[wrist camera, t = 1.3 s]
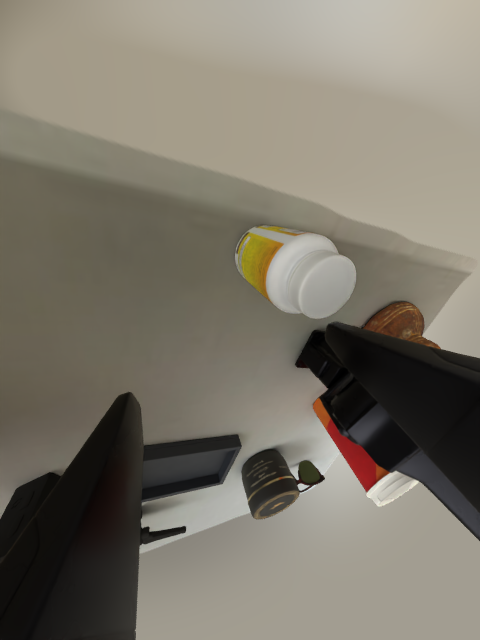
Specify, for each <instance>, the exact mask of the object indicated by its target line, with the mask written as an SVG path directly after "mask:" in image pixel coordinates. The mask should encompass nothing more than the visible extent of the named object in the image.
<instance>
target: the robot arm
mask: <svg viewBox="0 0 480 640" xmlns="http://www.w3.org/2000/svg"><path fill="white" fill-rule="evenodd" d="M295 365H296V367H297V368H309V369H310V370H311V371H312V372H313V374H314V375H315V376H316V377H318V378H319V380H320V381H321V382H322V383H323V384H324V385H325V386H326V387H327V388H328V390H327V391H326V392H325V393H324V394H323V395H321V396H320V397H319V399H320V400H321V402H322V405H323V406H324V408H325V410H326V411H327V413H328V414H329V416H330V418H331V419H332V421H333V423H334V424H335V426H336V428H337V429H338V431H339V433H340V434H341V435H342V436H345V437H347V438H348V439H349V440H350V441H352V442H353V443H354V444H356V445H360V446H361V447H362V448H363V449H364V450H365V451H366V452H367V453H368V455H369V456H370V457H371V458H372V459H373V461H374V462H375V463H376V464H377V465H378V466H379V467H381V468H383V469H385V470H386V471H388V472H390V473H393V472H395V471H397V472H400V473H402V474H404V475H406V476H408V477H410V478H413V479H415V480H417V481H419V482H421V483H422V484H424V486H426V487H427V488H428V489H429V490H430V491H431V492H432V493H433V494H434V495H435V496H436V497H437V498H438V499H439V500H440V501H441V502H442V503H443V504H444V506H445V507H446V508H447V509H448V510H449V511H450V512H451V513H452V514H454V515H455V517H456V518H457V519H458V520H459V521H460V522H461V523H462V524H463V525H464V526H465V527H466V528H467V529H468V530H469V531H470V532H471V533H472V534H473V535H474V536H475V537H476V538H477V539H478V540H479V541H480V358H476V357H471V356H467V355H462V354H458V353H454V352H450V351H446V350H442V349H438V348H435V347H431V346H427V345H423V344H419V343H415V342H412V341H408V340H404V339H400V338H396V337H393V336H389V335H385V334H381V333H377V332H374V331H370V330H366V329H362V328H358V327H355V326H351V325H347V324H343V323H339V322H333V323H330V324H328V325H327V328H326V332H325V331H319V330H314V331H313V332H312V334H311V336H310V337H309V339H308V341H307V343H306V345H305V347H304V349H303V350H302V352H301V354H300V356H299V358H298V360H297V362H296V363H295ZM143 457H144V444H143V430H142V416H141V407H140V404H139V402H138V401H137V399H136V398H135V396H134V395H133V394H132V393H131V392H127V393H124V394H121V395H119V396H118V397H117V398H116V400H115V401H114V402H113V404H112V405H111V407H110V408H109V410H108V411H107V412H106V414H105V415H104V417H103V418H102V419H101V421H100V422H99V424H98V425H97V427H96V428H95V429H94V431H93V432H92V434H91V435H90V437H89V438H88V439H87V441H86V442H85V444H84V445H83V447H82V448H81V449H80V451H79V452H78V454H77V455H76V457H75V458H74V459H73V461H72V462H71V464H70V465H69V467H68V468H67V469H66V471H65V472H64V474H63V475H62V477H61V478H60V479H59V481H58V482H57V484H56V485H55V487H54V488H53V489H52V491H51V492H50V494H49V495H48V497H47V498H46V499H45V501H44V502H43V504H42V505H41V507H40V508H39V509H38V511H37V512H36V516H35V517H33V518H32V519H31V521H30V522H29V523H28V525H27V526H26V528H25V529H24V531H23V532H22V533H21V535H20V536H19V538H18V539H17V540H16V542H15V543H14V545H13V546H12V547H11V549H10V550H9V552H8V553H7V554H6V556H5V557H4V558H3V560H2V561H1V563H0V640H135V638H136V632H135V629H136V611H137V591H138V569H139V566H138V565H139V547H140V524H141V502H142V480H143Z"/></svg>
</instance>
